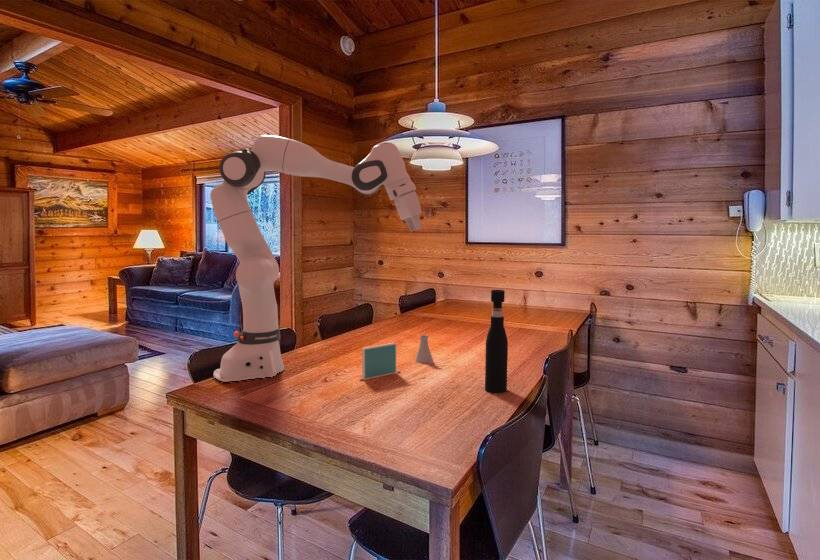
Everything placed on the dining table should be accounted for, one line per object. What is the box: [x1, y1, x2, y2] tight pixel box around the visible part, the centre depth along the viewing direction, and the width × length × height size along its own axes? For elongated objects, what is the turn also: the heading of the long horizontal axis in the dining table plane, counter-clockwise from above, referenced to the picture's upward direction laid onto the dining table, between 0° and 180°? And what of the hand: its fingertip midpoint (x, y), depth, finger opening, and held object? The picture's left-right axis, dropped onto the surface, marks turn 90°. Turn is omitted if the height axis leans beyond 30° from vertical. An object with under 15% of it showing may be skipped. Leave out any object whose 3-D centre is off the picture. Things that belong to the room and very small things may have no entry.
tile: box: [361, 341, 398, 381], centre depth 149 cm, size 12×1×10 cm, turn 124°
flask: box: [414, 334, 435, 366], centre depth 167 cm, size 7×7×10 cm
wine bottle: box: [484, 289, 509, 394], centre depth 139 cm, size 6×6×30 cm
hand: (416, 230), depth 157 cm, fingers open, 8 cm apart
